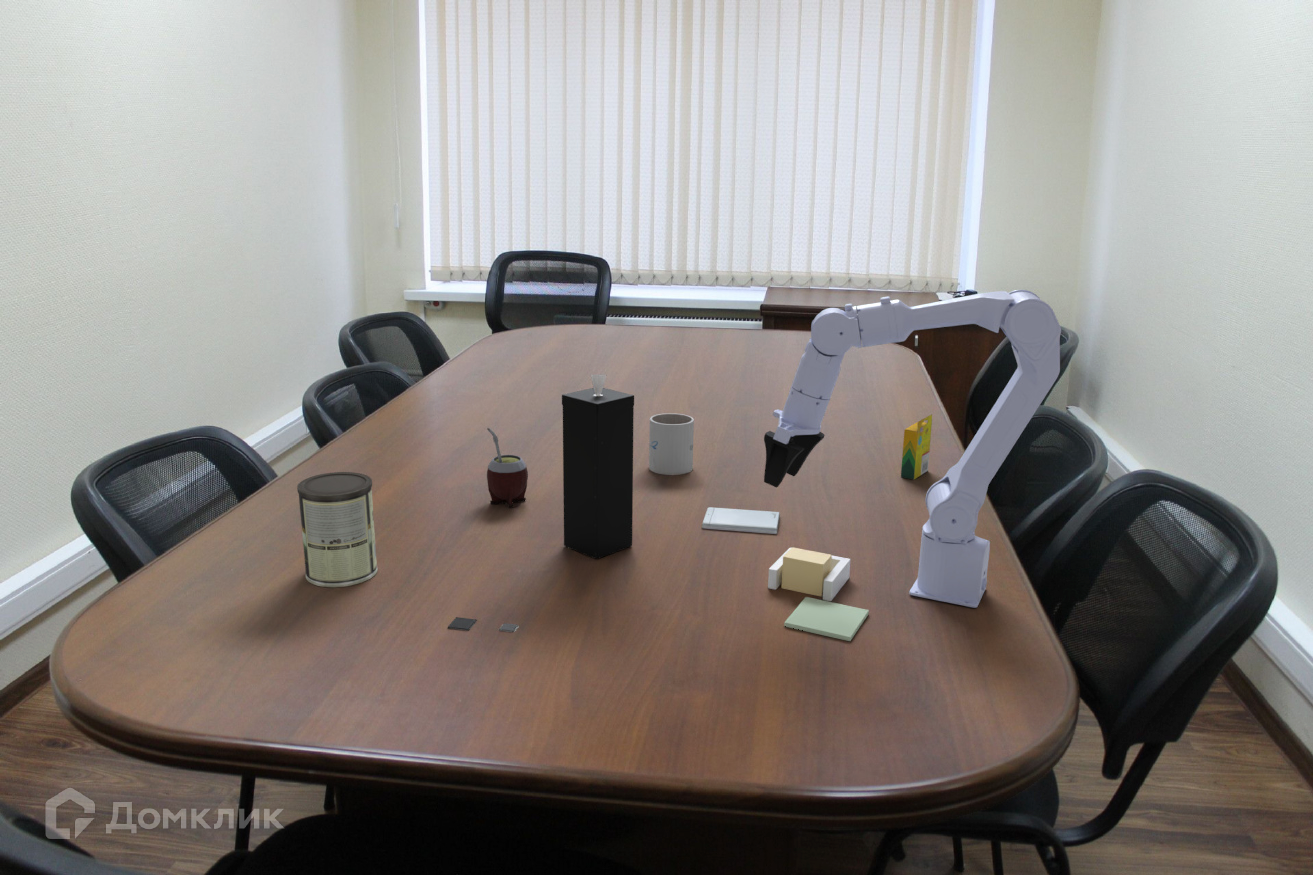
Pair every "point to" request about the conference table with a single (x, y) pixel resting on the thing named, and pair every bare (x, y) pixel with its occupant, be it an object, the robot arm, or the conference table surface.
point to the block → (805, 571)
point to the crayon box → (916, 449)
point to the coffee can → (338, 529)
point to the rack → (831, 582)
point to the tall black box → (598, 469)
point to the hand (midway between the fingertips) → (779, 478)
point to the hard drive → (741, 520)
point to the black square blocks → (468, 623)
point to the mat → (827, 618)
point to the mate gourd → (506, 477)
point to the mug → (671, 443)
